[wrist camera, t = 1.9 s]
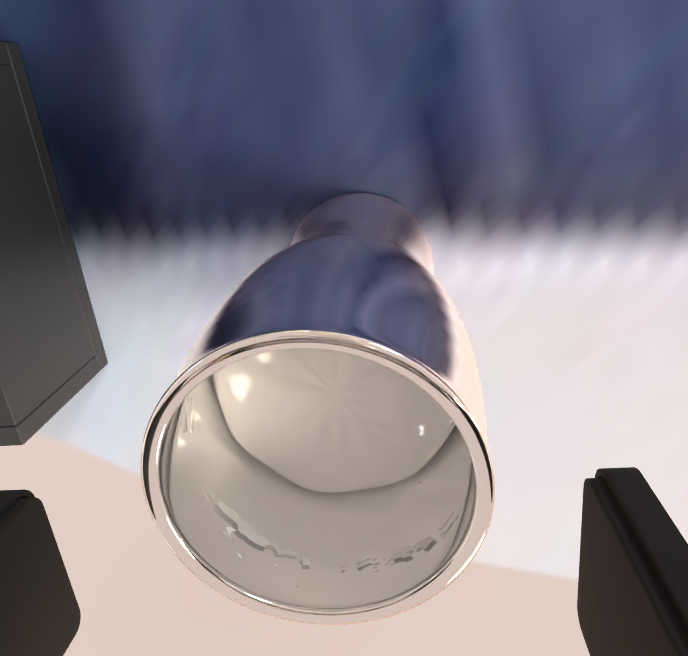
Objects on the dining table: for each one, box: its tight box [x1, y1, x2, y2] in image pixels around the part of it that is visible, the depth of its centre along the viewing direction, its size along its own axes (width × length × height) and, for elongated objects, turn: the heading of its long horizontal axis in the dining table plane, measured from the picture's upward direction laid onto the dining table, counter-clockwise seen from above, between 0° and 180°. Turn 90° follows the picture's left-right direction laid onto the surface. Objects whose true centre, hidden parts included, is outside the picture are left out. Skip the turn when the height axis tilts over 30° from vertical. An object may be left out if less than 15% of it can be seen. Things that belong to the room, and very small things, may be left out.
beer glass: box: [141, 193, 495, 625], centre depth 18 cm, size 7×7×15 cm
